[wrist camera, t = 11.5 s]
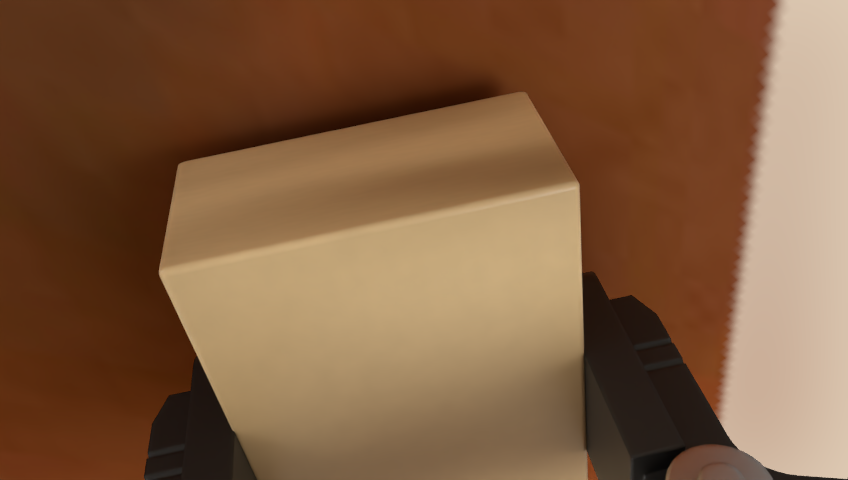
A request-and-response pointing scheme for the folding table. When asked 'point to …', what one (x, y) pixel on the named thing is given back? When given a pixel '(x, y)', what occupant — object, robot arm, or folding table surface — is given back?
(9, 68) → the folding table surface
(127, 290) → the folding table surface
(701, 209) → the folding table surface
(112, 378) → the folding table surface
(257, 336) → the tan rectangular block
